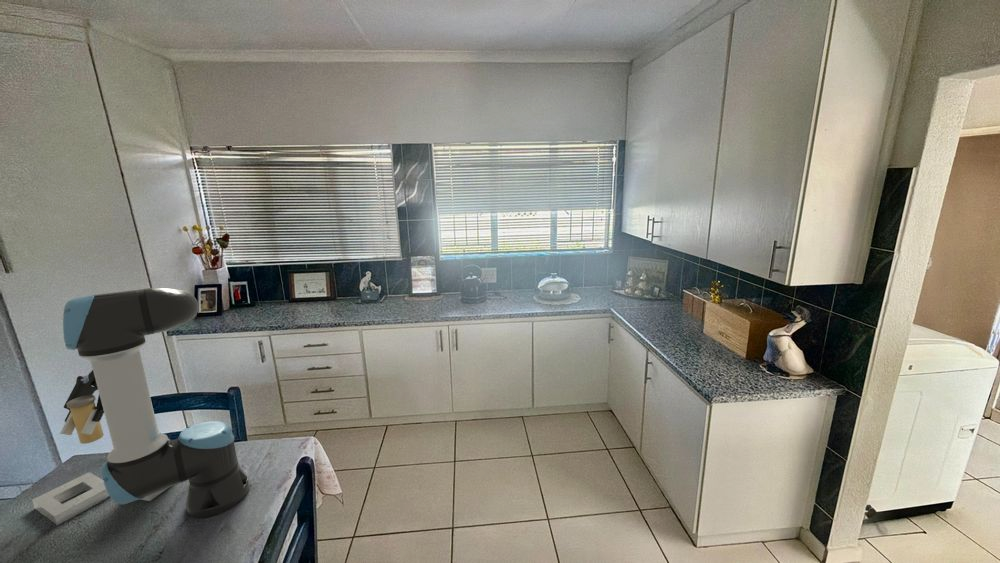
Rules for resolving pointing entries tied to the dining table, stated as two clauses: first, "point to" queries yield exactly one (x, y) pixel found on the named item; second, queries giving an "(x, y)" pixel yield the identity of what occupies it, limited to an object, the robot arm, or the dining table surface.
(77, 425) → the yellow and grey cylinder
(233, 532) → the dining table surface
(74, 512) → the housing
